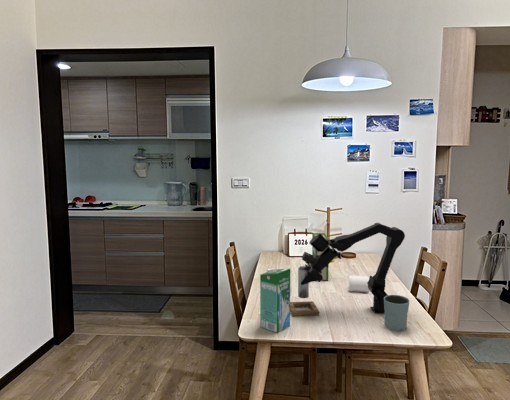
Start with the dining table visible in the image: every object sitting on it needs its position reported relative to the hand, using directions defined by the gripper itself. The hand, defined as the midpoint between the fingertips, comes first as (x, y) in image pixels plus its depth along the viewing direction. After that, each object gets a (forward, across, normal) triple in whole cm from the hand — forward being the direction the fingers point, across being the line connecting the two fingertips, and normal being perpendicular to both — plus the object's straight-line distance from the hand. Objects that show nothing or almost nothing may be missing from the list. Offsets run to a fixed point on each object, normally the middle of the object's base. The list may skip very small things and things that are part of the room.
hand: (300, 282), depth 183 cm
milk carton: (+18, +17, +1) cm, 25 cm away
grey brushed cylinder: (+4, 0, +6) cm, 7 cm away
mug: (-14, -28, +34) cm, 46 cm away
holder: (+9, 0, +10) cm, 13 cm away
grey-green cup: (-17, +17, +37) cm, 44 cm away
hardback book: (-2, -50, +21) cm, 55 cm away
